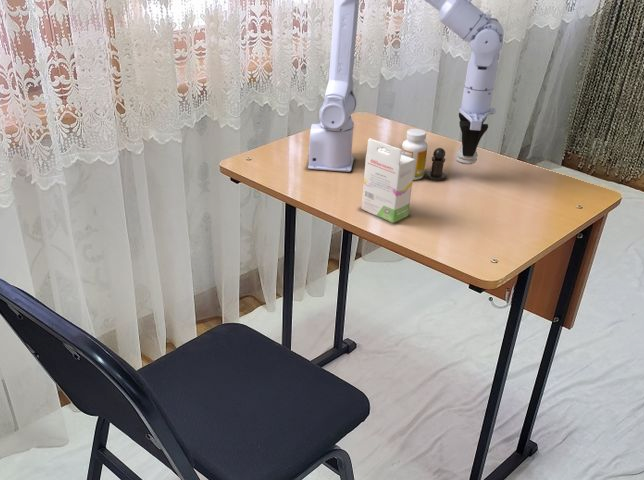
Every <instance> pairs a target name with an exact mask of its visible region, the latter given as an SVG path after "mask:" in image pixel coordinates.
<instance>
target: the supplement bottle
mask: <svg viewBox="0 0 644 480" xmlns="http://www.w3.org/2000/svg"><path fill="white" fill-rule="evenodd" d="M405 137H406V139H405V140H403V142H402V143H401V155H404V156H407V157H410V158H413V159H415V165H414V173H413V181H416V180H420V179H422V178H424V176H425V169H426V163H427V155H428V147H429V145H428V142H427V141H426V139H427V131H426V130H424V129H421V128H410V129H407V131H406V135H405Z"/></svg>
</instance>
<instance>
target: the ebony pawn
mask: <svg viewBox="0 0 644 480" xmlns="http://www.w3.org/2000/svg"><path fill="white" fill-rule="evenodd" d="M432 155H433V156H432V157H431V162H432V163H431V167H430V168H431V169H430V170H429V171H428V172H426V179H428V180H429V181H433V182H442V181H444V180H445V179H446V173H445V172H444V165H445V164H444V163H445V162H446V150H445V149H444V148H442V147H436V149H434V151H433V154H432Z"/></svg>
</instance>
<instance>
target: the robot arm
mask: <svg viewBox="0 0 644 480" xmlns="http://www.w3.org/2000/svg"><path fill="white" fill-rule="evenodd" d="M424 1H425V2H426V3H428V4H429V5H430V6H432V7H433V8H435V9H436V10H437V11H438V14H439V15H438V17H439V22H440V23H442V24H443V25H444V26H445V27H447V28H448V29H449V30H450V31H452V32H453V33H454V34H455V35H456V36H458V37H459V38H460V39H461V40H463V41H464V42H467V43H470V45H469V46H470V50H471V52H470V59H469V60H468V62H467V67H466V68H467V69H466V75H465V79H464V86H463V87H464V88H463V91H462V92H463V93H462V97H461V104H460V106H459V111H458V118H459V128H460V132H461V146H462V151H463V156H473V155H474V153H475V151H476V152H477V149H478V146H479V144H480V141H481V139H482V137H483V135H484V134H485V133H486V132H487V131H488V129H489V123H485V121H486V120H487V118H488V117H489V116H490V115H496V112H497V110H496V108H494V107H491V105H492V101H493V95H494V89H495V85H496V78H497V73H498V68H499V62H498V61H499V60H500V54H501V53H500V52H501V50H502V48H503V46H504V34H505V32H504V28H503V25H502V24H501V23H500V22H499V20H498V18H496V17H492V15H491V14H490V12H489V13H488V12H486V13H485V12H483V11H482V10H481V9H480V8H478V7H477V6H476V5H474V3H472V0H424ZM359 7H360V0H333V13H332V14H333V15H332V28H331V29H332V31H331V45H330V56H329V60H330V61H329V71H328V82H327V85H326V89H325V93H324V100H323V104H322V105H321V106H320V109H319V112H318V117H319V121H320V122H319V123H311V127H310V132H309V145H308V155H307V156H308V165H307V169H309V170H317V171H318V170H320V171H330V172H345V173H350V172H352V169H353V163H354V160H355V156H353V155H352V153H353V142H354V141H353V140H354V139H353V138H354V128H355V127H354V126H355V122H354V120H353V118H352V114H354V112H355V110H356V108H357V98H356V95H355V91H354V85H355V84H354V79H353V77H354V76H353V75H354V66H355V65H354V64H355V52H356V43H357V42H356V41H357V30H358V20H359V19H358V18H359V9H360V8H359Z"/></svg>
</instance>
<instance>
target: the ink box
mask: <svg viewBox="0 0 644 480" xmlns="http://www.w3.org/2000/svg"><path fill="white" fill-rule="evenodd" d="M366 146H367V148H366V154H365V162H364V163H365V164H364V174H363V175H364V176H363V184H362V185H363V186H362V200H361V210H363V211H365V212H367V213H369V214H371V215H373V216H376V217H378V218H381V219H383V220H385V221H388V222H390V223H392V224H395V223H397V222H398V221H400V220H403V219H404V218H406V217H408V216H409V213H410V204H411V197H412V189H413V181H414V180H413V173H414V165H415V159H413V158H410V157H407V156H404V155H401V150H402V148H398V147H395V146H392V145H391V144H388V143H385V142H381V141H379V140H376V139H373V138H370V137H369V138H368V140H367V145H366Z"/></svg>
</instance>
